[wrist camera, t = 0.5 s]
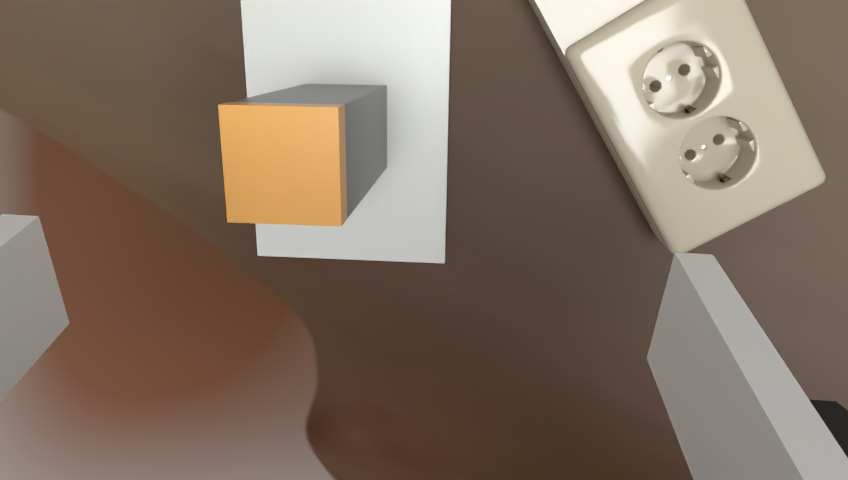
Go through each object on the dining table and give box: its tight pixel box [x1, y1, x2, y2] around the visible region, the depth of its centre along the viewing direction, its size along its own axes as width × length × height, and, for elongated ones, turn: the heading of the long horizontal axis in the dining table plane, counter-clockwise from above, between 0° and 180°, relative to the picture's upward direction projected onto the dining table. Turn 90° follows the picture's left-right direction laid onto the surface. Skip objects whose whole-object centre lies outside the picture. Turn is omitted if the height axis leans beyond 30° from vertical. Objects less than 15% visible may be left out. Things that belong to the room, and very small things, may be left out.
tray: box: [241, 0, 451, 263], centre depth 32 cm, size 14×10×1 cm
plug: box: [218, 84, 387, 226], centre depth 27 cm, size 4×4×11 cm
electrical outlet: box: [528, 0, 825, 254], centre depth 29 cm, size 7×4×18 cm
